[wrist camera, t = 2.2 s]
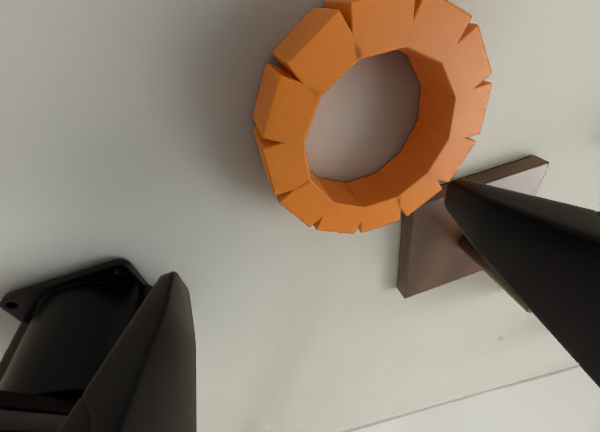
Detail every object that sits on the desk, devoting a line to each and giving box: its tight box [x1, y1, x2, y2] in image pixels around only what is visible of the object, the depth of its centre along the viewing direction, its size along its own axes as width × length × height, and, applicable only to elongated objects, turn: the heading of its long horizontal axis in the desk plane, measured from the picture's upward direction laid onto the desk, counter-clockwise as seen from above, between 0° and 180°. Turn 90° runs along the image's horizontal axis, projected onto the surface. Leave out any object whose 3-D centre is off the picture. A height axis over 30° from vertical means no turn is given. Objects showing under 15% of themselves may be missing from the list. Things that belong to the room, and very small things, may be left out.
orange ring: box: [253, 0, 492, 234], centre depth 14 cm, size 11×11×3 cm
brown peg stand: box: [398, 155, 549, 313], centre depth 20 cm, size 10×10×7 cm
